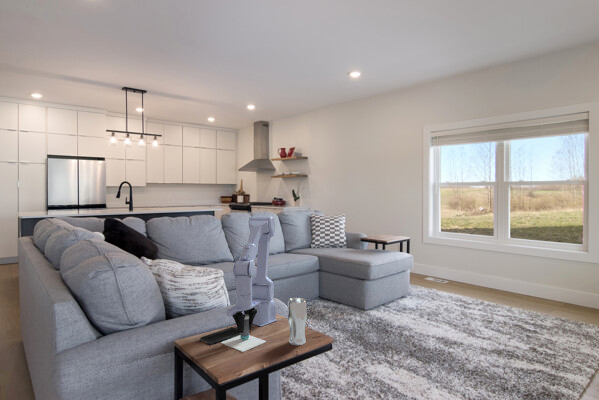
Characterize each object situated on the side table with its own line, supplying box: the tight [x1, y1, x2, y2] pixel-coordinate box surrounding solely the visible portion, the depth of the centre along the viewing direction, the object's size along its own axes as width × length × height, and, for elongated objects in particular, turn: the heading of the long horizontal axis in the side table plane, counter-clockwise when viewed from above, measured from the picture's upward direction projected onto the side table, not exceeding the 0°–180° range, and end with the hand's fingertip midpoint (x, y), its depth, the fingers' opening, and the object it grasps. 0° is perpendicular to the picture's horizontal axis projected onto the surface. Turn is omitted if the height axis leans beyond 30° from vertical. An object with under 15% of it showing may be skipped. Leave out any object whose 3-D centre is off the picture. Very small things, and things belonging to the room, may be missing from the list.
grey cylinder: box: [240, 313, 250, 339], centre depth 130 cm, size 3×3×8 cm
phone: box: [199, 326, 240, 346], centre depth 134 cm, size 8×1×15 cm
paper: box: [220, 334, 267, 353], centre depth 128 cm, size 11×12×1 cm
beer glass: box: [286, 297, 308, 346], centre depth 128 cm, size 7×7×15 cm
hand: (244, 330), depth 130 cm, fingers closed on grey cylinder, 3 cm apart
